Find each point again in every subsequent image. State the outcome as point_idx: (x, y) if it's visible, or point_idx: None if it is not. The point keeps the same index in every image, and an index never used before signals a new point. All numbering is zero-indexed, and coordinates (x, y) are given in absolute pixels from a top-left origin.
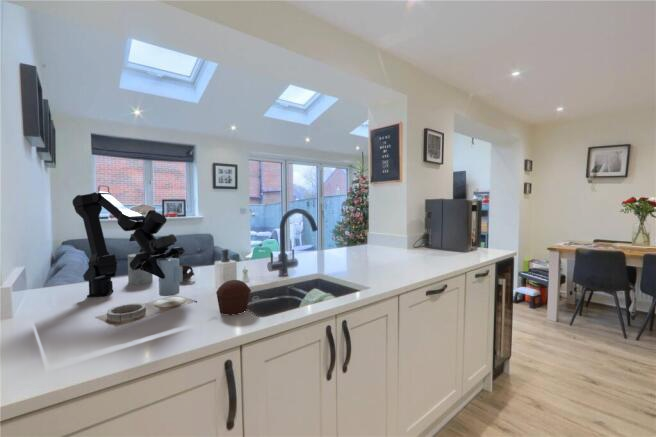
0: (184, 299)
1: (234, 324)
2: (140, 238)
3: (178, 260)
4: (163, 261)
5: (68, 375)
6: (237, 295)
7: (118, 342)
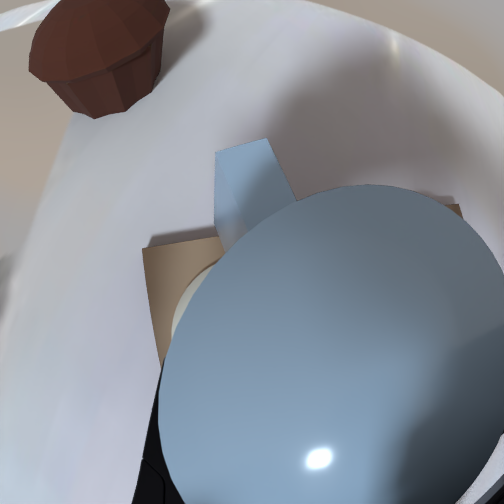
0: (180, 312)
1: (194, 14)
2: None
3: (229, 252)
4: (499, 269)
5: (478, 91)
6: None
7: (443, 127)
